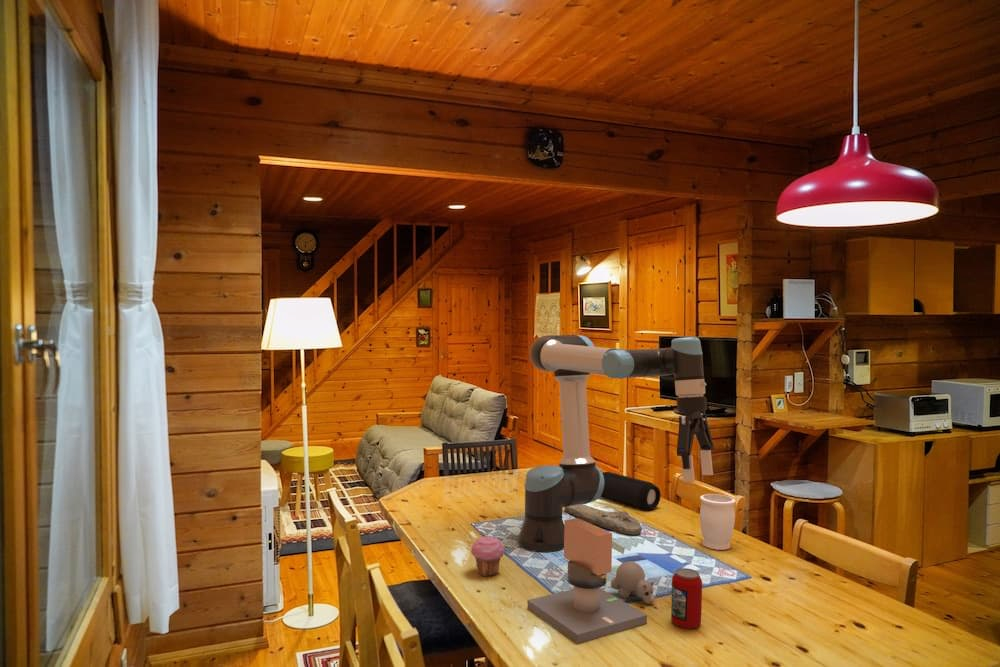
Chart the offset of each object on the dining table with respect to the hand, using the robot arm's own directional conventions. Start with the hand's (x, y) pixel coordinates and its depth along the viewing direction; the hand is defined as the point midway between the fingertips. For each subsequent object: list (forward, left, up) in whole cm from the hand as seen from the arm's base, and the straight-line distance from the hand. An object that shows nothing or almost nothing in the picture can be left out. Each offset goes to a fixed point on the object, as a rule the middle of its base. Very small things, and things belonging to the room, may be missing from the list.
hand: (698, 478), depth 175 cm
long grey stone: (-57, +15, -30) cm, 66 cm away
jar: (-21, +31, -30) cm, 48 cm away
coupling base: (-2, -35, -29) cm, 45 cm away
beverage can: (+13, -17, -30) cm, 36 cm away
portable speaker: (-71, +38, -30) cm, 86 cm away
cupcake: (-35, -42, -30) cm, 63 cm away
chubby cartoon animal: (-4, -18, -30) cm, 35 cm away
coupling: (-2, -35, -21) cm, 40 cm away
